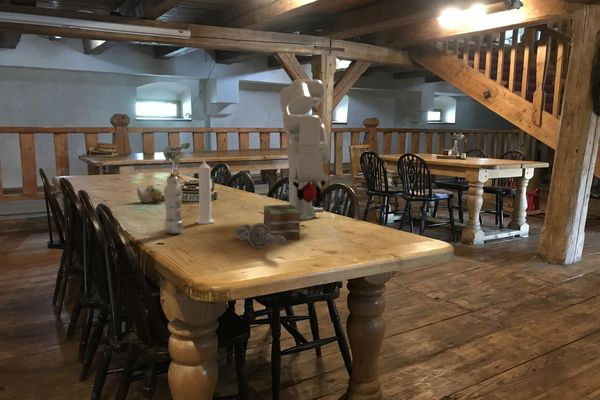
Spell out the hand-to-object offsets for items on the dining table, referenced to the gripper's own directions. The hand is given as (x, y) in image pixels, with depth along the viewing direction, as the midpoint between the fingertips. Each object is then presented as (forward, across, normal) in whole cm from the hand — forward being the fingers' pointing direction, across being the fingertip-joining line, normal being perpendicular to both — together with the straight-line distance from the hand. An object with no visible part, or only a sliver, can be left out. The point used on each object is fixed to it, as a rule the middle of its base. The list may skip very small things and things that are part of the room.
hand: (308, 198), depth 183 cm
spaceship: (+11, +24, +24) cm, 35 cm away
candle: (+12, +35, -22) cm, 43 cm away
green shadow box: (+11, +13, +10) cm, 20 cm away
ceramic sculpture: (+14, +54, -78) cm, 96 cm away
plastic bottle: (+11, +48, -5) cm, 50 cm away
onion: (+2, 0, 0) cm, 2 cm away
